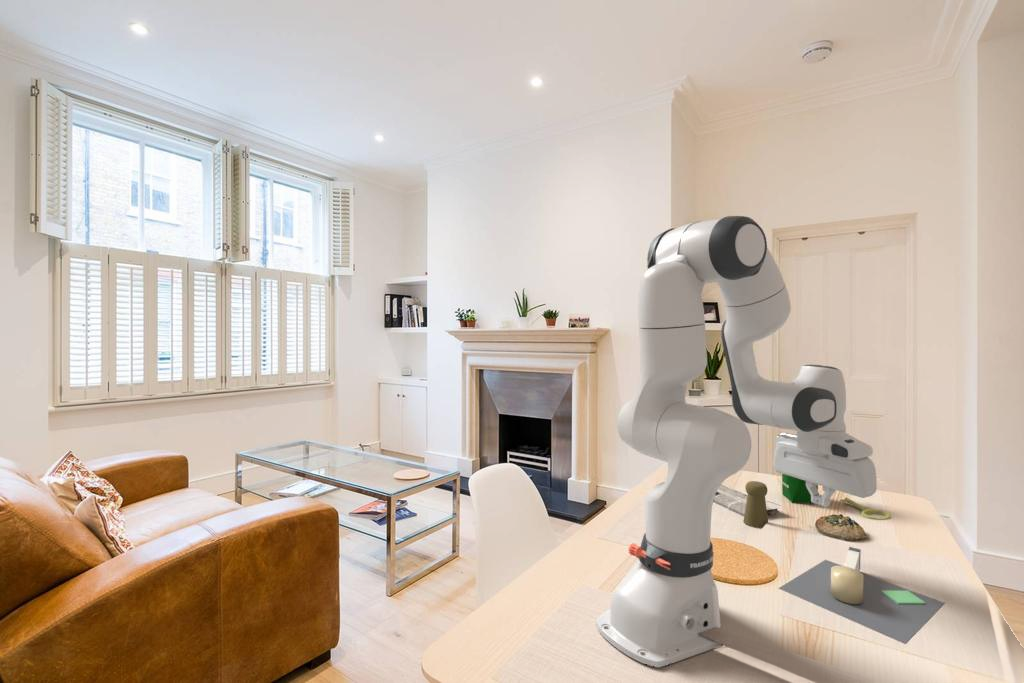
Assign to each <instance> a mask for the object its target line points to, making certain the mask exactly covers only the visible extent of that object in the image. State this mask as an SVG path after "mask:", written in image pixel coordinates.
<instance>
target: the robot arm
mask: <svg viewBox="0 0 1024 683" xmlns="http://www.w3.org/2000/svg"><path fill="white" fill-rule="evenodd" d="M646 260H647V266H646V267H647V269H646V270H645V271H644V272H643V274H642V276H641V279H640V284H639V285H640V286H639V292H638V309H637V310H638V315H637V316H638V318H637V319H638V334H639V336H638V337H639V351H640V352H639V355H640V371H639V378H638V381H637V385H636V389H635V390H634V393H633V395H632V397H631V398H630V399H629V400H628V401H626V403H624V405H623V406H622V407H621V409H620V411H619V414H618V416H617V422H616V423H617V433H618V436H619V438H620V440H621V441H622V442H623V443H624V444H625V445H627V446H628V447H629V448H632V449H633V450H635V451H636V452H638V453H640V454H642V455H644V456H648V457H650V458H653V459H656V460H660V461H664V462H666V463H667V475H666V479H665V481H663V482H660V483H658V484H656V485H654V486H653V487H652V488H651V489H650V490H648V492H647V494H646V496H645V533H644V534H643V536H642V540H641V543H640V546H639V545H638V544H636V543H634V542H633V543H631V544H630V545H629V547H628V553H629V554H630V555H631V556H634V557H635V558H637V561H636V562H635V563H634V564H633V566H632V567H631V568H630V569H629V570H628V572H627V573H626V575H625V576H624V577H623V579H622V580H621V581H620V582H619V583H618V585H617V586H616V587H615V588H614V590H613V592H612V595H611V602H610V608H608V609H607V610H605V611H604V612H603V613H602V614H600V615H599V616H598V617H597V618H596V623H595V625H596V627H597V630H598V632H599V633H600V635H601V636H602V637H603V638H604V639H605V640H606V641H607V642H609V643H610V645H612V647H615V648H616V649H617V650H619V651H620V652H621V653H623V654H624V655H626V656H628V657H630V658H631V659H633V660H635V661H637V662H639V663H642V664H643V665H644V664H645V665H646V664H647V666H650V667H653V666H654V668H663V667H665V665H666V666H668V664H669V665H671V664H674V663H677V662H681V661H682V660H685V659H689V658H691V657H694V656H697V655H699V654H702V653H705V652H707V651H710V650H714V649H716V648H718V647H721V646H724V644H723V643H721V642H719V641H716V640H714V639H712V638H709V637H706V636H703V635H702V634H700V633H703V632H706V631H709V630H711V629H713V628H717V629H718V628H721V625H722V624H721V614H720V604H719V602H720V601H719V594H718V592H719V591H718V588H717V585H716V583H715V580H714V576H713V572H712V568H713V566H714V555H715V554H714V547H713V546H714V545H713V543H712V541H711V529H712V528H711V527H712V526H711V524H712V511H713V510H712V509H713V503H714V502H713V500H714V497H715V494H716V492H717V490H718V488H719V486H720V485H721V484H723V482H725V480H727V479H728V478H729V477H731V476H733V475H735V474H737V473H738V472H739V471H740V470H742V468H744V467H745V465H746V464H747V463H748V461H749V459H750V456H751V452H752V437H751V435H750V431H749V429H748V426H747V425H746V424H751V425H761V426H769V427H773V428H778V429H782V430H783V429H784V430H788V431H789V430H790V431H794V432H796V434H791V433H789V432H781V433H779V434H778V435H776V437H775V448H774V454H773V461H772V462H773V463H772V467H773V469H774V470H775V472H776V473H779V474H781V475H782V474H785V475H788V476H792V477H795V478H798V479H801V480H805V481H806V487H807V489H808V491H809V493H810V494H811V502H812V503H815V505H817V506H818V505H819V506H821V507H824V508H826V507H829V506H830V505H831V504H830V501H831V497H832V496H833V495H834V494H835V493H836V491H837V492H841V493H845V494H848V495H851V496H854V497H857V498H861V499H862V498H863V499H865V498H868V497H873V495H874V494H876V492H877V471H876V467H875V463H874V461H873V460H872V459H871V458H870V457H872V456H873V452H874V450H873V447H872V446H871V445H869V444H867V443H865V442H863V441H862V440H860V439H858V438H856V437H854V436H852V435H850V434H849V433H847V428H846V427H847V426H846V423H845V418H844V416H845V413H846V410H847V391H846V382H845V378H844V374H843V372H842V370H841V369H839V368H837V367H834V366H828V365H821V364H820V365H819V364H804V365H802V366H801V367H800V369H799V373H798V376H797V377H796V378H795V379H793V380H791V381H790V382H784V381H783V382H782V381H774V380H769V379H766V378H764V377H763V376H761V375H760V374H759V372H758V368H757V363H756V358H755V353H754V352H755V351H754V346H753V345H754V343H755V342H758V341H761V340H762V339H765V338H767V337H769V336H771V335H772V334H773V335H774V333H775V332H777V331H778V330H779V329H780V328H782V326H784V325H785V323H786V322H787V320H788V318H789V316H790V313H791V311H792V305H791V299H790V294H789V292H788V289H787V286H786V283H785V281H784V278H783V276H782V273H781V271H780V268H779V266H778V264H777V261H776V260H775V258H774V256H773V254H772V253H771V251H770V249H769V248H768V242H767V237H766V233H765V232H764V230H763V228H762V227H761V226H760V225H759V224H758V223H757V221H755V220H754V219H753V218H751V217H748V216H743V215H728V216H725V217H722V218H715V219H709V220H699V221H698V220H697V221H693V222H691V223H687V224H684V225H681V226H678V227H675V228H669V229H667V230H665V231H663V232H662V233H659V234H658V235H657V236H656V237H655V238H653V240H652V242H651V243H650V244H649V249H648V252H647V258H646ZM712 283H713V284H714V283H717V286H718V290H719V294H720V297H721V300H722V303H723V305H724V309H725V314H726V316H725V317H726V319H725V320H723V323H722V326H721V342H722V347H723V348H722V349H723V353H724V358H725V362H726V367H727V372H728V376H729V380H730V385H731V403H732V408H733V411H734V413H735V414H736V415H737V416H735V415H732V414H730V413H727V412H725V411H722V410H720V409H718V408H716V407H714V408H713V407H708V406H704V405H697V404H691V403H687V402H686V394H687V393H686V392H687V388H688V385H689V384H690V382H692V381H694V380H696V379H697V378H699V377H700V376H701V375H702V374H703V373H704V372H705V371H706V369H707V365H708V352H707V337H706V335H707V334H706V319H705V317H706V316H705V311H704V310H705V309H704V302H703V296H702V293H703V289H704V287H705V285H706V284H712ZM745 423H746V424H745ZM816 486H818V487H819V486H821V487H822V491H823V492H824V494H820V493H819V489H818V490H817V488H816ZM670 663H671V664H670ZM662 666H663V667H662Z"/></svg>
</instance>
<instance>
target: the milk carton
mask: <svg viewBox="0 0 1024 683" xmlns="http://www.w3.org/2000/svg"><path fill="white" fill-rule="evenodd" d="M781 475H782V476H781V489H782V490H781V492H782V496H783V497H785V498H786V499H787V500H788V501H790V503H792V504H812V505H813V504H815V503H812V502H811V494H810V493H809V491H808V489H807V487H806V481H805V480H801V479H798V478H795V477H792V476H788V475H785V474H782V473H781ZM816 488H817V490H818V491H819V485H818V486H816ZM815 505H816V504H815Z"/></svg>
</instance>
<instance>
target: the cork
mask: <svg viewBox="0 0 1024 683" xmlns="http://www.w3.org/2000/svg"><path fill="white" fill-rule="evenodd" d="M745 493H748V495H747V502H746V508H745V514H744V516H743V520H742V521H743V524H745V525H747V526H749V527H752V528H754V529H755V528H756V529H763V528H764V527H765V526H766V524H767V523H769V517H768V513H767V508H766V500H765V499H766V496H767V494H768V487H767V484H766V483H764V482H761V481H757V480H750V481H747V483H745Z"/></svg>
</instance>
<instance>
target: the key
mask: <svg viewBox="0 0 1024 683" xmlns="http://www.w3.org/2000/svg"><path fill="white" fill-rule="evenodd" d="M840 502H842V503H844V504H846V503H848V504H850V505H852V506H853V507H855V508H857V509H859V510H860V511H861V514H860V516H861V517H863V518H865V519H869V520H872V521H873V520H874V521H884V520H889V519H890V518H891V514H890V513H889V512H886V511H884V510H881V509H876V508H875V509H872V508H871V509H869V507H868V506H863V505H861V504H860V503H858V502H856V501H853V500H852V499H850V498H848V497H845V498H844V499H840ZM871 514H874V515H882V516H881V517H879V516H878V517H876V516H871Z"/></svg>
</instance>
